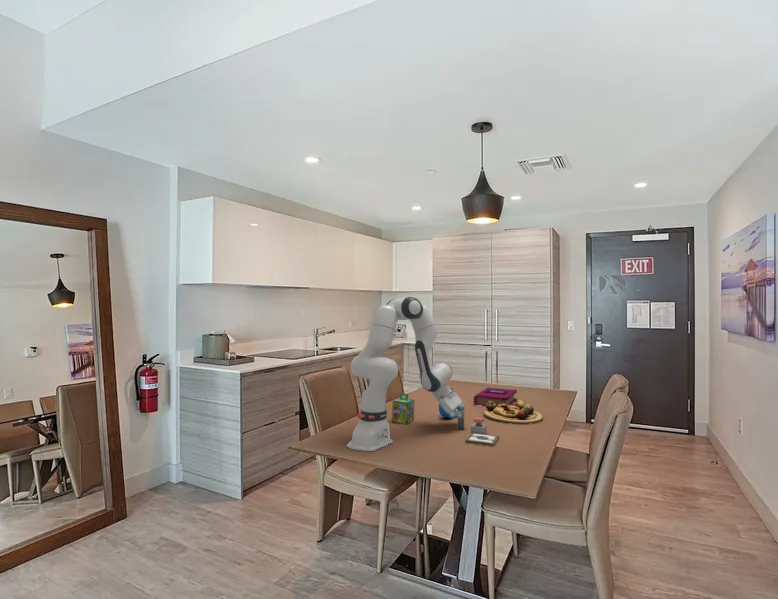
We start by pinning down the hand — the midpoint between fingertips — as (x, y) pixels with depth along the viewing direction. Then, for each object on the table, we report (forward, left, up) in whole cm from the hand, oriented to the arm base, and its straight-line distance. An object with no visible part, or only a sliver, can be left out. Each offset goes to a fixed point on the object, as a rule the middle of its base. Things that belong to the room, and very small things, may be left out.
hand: (462, 415), depth 235 cm
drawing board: (-15, -13, -7) cm, 21 cm away
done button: (-4, -9, -3) cm, 11 cm away
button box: (-4, -9, -7) cm, 12 cm away
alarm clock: (+19, +13, -7) cm, 24 cm away
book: (+68, -4, -8) cm, 69 cm away
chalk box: (+1, +33, -7) cm, 33 cm away
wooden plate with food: (+36, -19, -8) cm, 42 cm away
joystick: (0, +1, -7) cm, 7 cm away
